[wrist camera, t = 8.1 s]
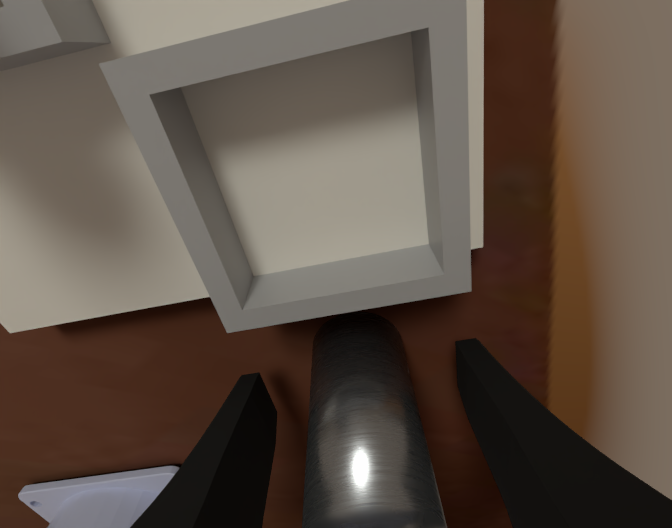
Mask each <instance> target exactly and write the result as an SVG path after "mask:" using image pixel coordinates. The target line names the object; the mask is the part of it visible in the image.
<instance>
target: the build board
mask: <svg viewBox="0 0 672 528" xmlns="http://www.w3.org/2000/svg"><path fill="white" fill-rule="evenodd" d="M483 86H484V0H0V323H1V324H2V325H3V326H4V327H5V328H6V330H7V331H8V332H9V333H13V332H19V331H24V330H30V329H35V328H41V327H46V326H52V325H58V324H63V323H69V322H74V321H80V320H85V319H91V318H96V317H102V316H107V315H113V314H118V313H124V312H129V311H135V310H140V309H146V308H151V307H157V306H162V305H168V304H173V303H179V302H184V301H190V300H195V299H201V298H206V297H210V298H211V300H212V302H213V304H214V306H215V308H216V310H217V313H218V315H219V317H220V319H221V321H222V323H223V325H224V327H225V329H226V331H227V333H230V332H236V331H242V330H248V329H254V328H260V327H266V326H271V325H277V324H283V323H289V322H295V321H301V320H307V319H312V318H318V317H324V316H330V315H336V314H342V313H348V312H353V311H359V310H365V309H371V308H377V307H383V306H389V305H394V304H400V303H406V302H412V301H418V300H424V299H430V298H435V297H441V296H447V295H453V294H459V293H465V292H471V249H476V248H482V247H483Z"/></svg>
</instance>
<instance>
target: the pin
mask: <svg viewBox="0 0 672 528" xmlns="http://www.w3.org/2000/svg"><path fill="white" fill-rule="evenodd" d="M302 528H447V525H446V521H445V517H444V512H443V508H442V504H441V500H440V496H439V492H438V488H437V484H436V480H435V475H434V471H433V467H432V463H431V459H430V455H429V451H428V447H427V443H426V438H425V434H424V430H423V426H422V422H421V418H420V414H419V410H418V406H417V401H416V397H415V393H414V389H413V385H412V381H411V377H410V373H409V369H408V364H407V360H406V356H405V352H404V348H403V344H402V340H401V336H400V334H399V331H398V330H397V328H396V327H395V326H394V325H393V324H392V323H391V322H389V321H388V320H386V319H385V318H383V317H381V316H378V315H375V314H371V313H363V312H355V313H348V314H343V315H340V316H337V317H335V318H333V319H331V320H330V321H328V322H327V323H325V324H324V325H323V326H322V327H321V328H320V329H319V331H318V332H317V334H316V336H315V338H314V341H313V352H312V369H311V386H310V403H309V420H308V437H307V454H306V471H305V488H304V505H303V521H302Z"/></svg>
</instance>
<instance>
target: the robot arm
mask: <svg viewBox="0 0 672 528" xmlns="http://www.w3.org/2000/svg"><path fill="white" fill-rule="evenodd" d="M455 343H456V363H457V383H458V388H459V392H460V395H461V398H462V401H463V405H464V408H465V411H466V414H467V417H468V419H469V422H470V424H471V426H472V429H473V431H474V433H475V436H476V438H477V440H478V443H479V445H480V447H481V449H482V452H483V454H484V456H485V459H486V461H487V463H488V465H489V468H490V470H491V472H492V475H493V477H494V479H495V481H496V484H497V486H498V488H499V491H500V493H501V496H502V498H503V501H504V503H505V506H506V508H507V511H508V514H509V517H510V520H511V523H512V526H513V528H672V500H670V499H669V498H667V497H666V496H664V495H663V494H661V493H660V492H658V491H657V490H655V489H654V488H652V487H651V486H649V485H648V484H646V483H645V482H643V481H642V480H640V479H639V478H637V477H636V476H634V475H633V474H631V473H630V472H628V471H627V470H625V469H624V468H622V467H621V466H619V465H618V464H617V463H615V462H614V461H612V460H611V459H610V458H608V457H607V456H605V455H604V454H603V453H601V452H600V451H599V450H597V449H596V448H595V447H593V446H592V445H591V444H589V443H588V442H587V441H586V440H584V439H583V438H582V437H580V436H579V435H578V434H577V433H575V432H574V431H573V430H571V429H570V428H569V427H568V426H567V425H565V424H564V423H563V422H562V421H560V420H559V419H558V418H557V417H556V416H555V415H554V414H552V413H551V412H550V411H549V410H548V409H547V408H545V407H544V406H543V405H542V404H541V403H540V402H539V401H538V400H536V399H535V398H534V397H533V396H532V395H531V394H530V393H529V392H528V391H527V390H526V389H525V388H524V387H523V386H522V385H521V384H519V383H518V382H517V381H516V380H515V379H514V378H513V377H512V376H511V375H510V374H509V373H508V372H507V371H506V370H505V369H504V368H503V367H502V366H501V365H500V363H499V362H498V361H497V360H496V359H495V358H494V357H493V356H492V355H491V354H490V353H489V352H488V351H487V349H486V348H485V347H484V346H483V345H482V344H481V343H480V341H479V340H477V339H476V338H474V339H468V340H461V341H455ZM276 426H277V411H276V409H275V406H274V404H273V402H272V400H271V398H270V395H269V393H268V391H267V389H266V387H265V384H264V382H263V380H262V378H261V375H260V373H253V374H247V375H241V377H240V378H239V380H238V381H237V383H236V384H235V386H234V388H233V389H232V391H231V392H230V394H229V396H228V397H227V399H226V401H225V402H224V404H223V405H222V407H221V408H220V410H219V412H218V413H217V415H216V416H215V418H214V419H213V421H212V422H211V424H210V425H209V427H208V428H207V430H206V431H205V433H204V434H203V436H202V437H201V439H200V440H199V442H198V443H197V445H196V446H195V447H194V449H193V450H192V452H191V453H190V454H189V456H188V457H187V459H186V460H185V461H184V463H183V464H182V466H181V467H177V466H163V467H155V468H148V469H141V470H133V471H126V472H119V473H111V474H104V475H97V476H89V477H82V478H75V479H67V480H60V481H53V482H46V483H38V484H31V485H27V486H24V487H23V489H22V490H21V491H20V493H19V494H18V497H19V499H20V500H21V501H23V502H24V503H25V504H26V505H28V506H29V507H30V508H31V509H33V510H34V511H35V512H36V513H38V514H39V515H40V516H42V517H43V518H44V519H45V520H47V521H48V522H49V523H50V524H49V526H48V528H262V523H263V516H264V510H265V504H266V498H267V492H268V487H269V481H270V475H271V469H272V463H273V457H274V450H275V444H276Z"/></svg>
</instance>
